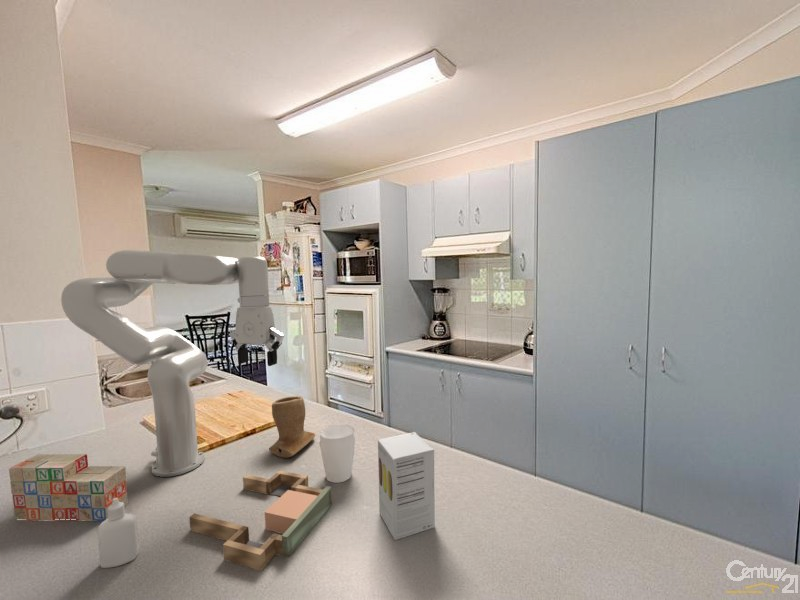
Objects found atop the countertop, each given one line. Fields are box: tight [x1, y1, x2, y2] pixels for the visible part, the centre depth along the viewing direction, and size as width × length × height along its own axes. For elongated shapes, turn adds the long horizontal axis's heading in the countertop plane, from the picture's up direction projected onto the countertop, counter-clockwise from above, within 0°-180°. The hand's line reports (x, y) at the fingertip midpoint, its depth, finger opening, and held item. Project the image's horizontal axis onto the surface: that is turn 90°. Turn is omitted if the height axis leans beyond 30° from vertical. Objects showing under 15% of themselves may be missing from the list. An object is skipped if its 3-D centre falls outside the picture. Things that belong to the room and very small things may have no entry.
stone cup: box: [268, 395, 316, 459], centre depth 110 cm, size 15×12×15 cm
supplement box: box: [377, 431, 436, 541], centre depth 76 cm, size 10×9×17 cm
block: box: [264, 490, 317, 535], centre depth 77 cm, size 8×8×4 cm
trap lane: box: [188, 470, 333, 571], centre depth 79 cm, size 24×24×4 cm
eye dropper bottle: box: [97, 498, 140, 569], centre depth 67 cm, size 4×6×12 cm
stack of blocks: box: [8, 453, 129, 522], centre depth 82 cm, size 21×6×12 cm, turn 87°
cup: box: [319, 423, 356, 484], centre depth 94 cm, size 9×9×12 cm
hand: (257, 363), depth 100 cm, fingers open, 9 cm apart
